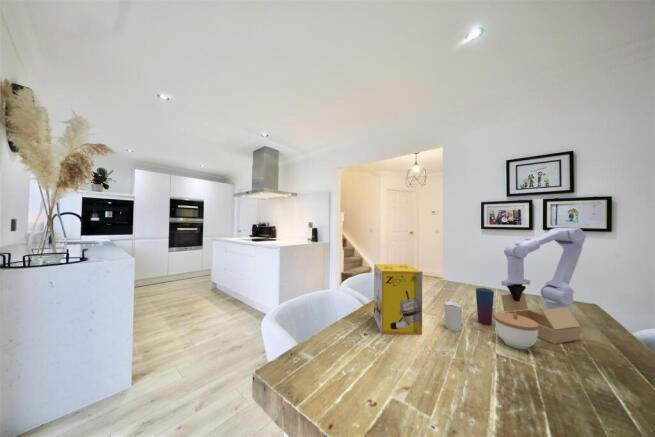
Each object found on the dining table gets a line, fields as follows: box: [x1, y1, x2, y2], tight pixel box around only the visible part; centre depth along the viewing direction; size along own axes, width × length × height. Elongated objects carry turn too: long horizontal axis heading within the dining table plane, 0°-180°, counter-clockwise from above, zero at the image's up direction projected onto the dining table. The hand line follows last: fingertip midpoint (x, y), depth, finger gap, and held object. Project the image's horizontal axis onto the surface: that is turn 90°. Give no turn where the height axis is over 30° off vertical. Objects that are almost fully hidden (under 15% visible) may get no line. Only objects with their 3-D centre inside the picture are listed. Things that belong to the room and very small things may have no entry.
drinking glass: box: [443, 300, 463, 332], centre depth 96 cm, size 7×7×10 cm
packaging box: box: [373, 263, 423, 335], centre depth 98 cm, size 16×16×25 cm
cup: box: [475, 286, 495, 326], centre depth 101 cm, size 7×7×15 cm
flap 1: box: [500, 292, 529, 312], centre depth 104 cm, size 13×7×1 cm
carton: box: [504, 309, 581, 345], centre depth 94 cm, size 14×18×5 cm
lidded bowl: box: [493, 312, 539, 350], centre depth 83 cm, size 13×13×11 cm
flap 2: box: [540, 308, 581, 330], centre depth 87 cm, size 13×7×1 cm
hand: (516, 300), depth 103 cm, fingers closed, pressing on flap 1
